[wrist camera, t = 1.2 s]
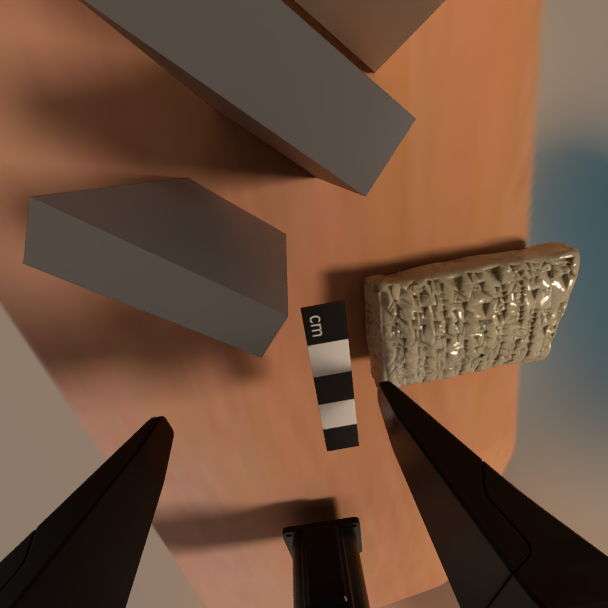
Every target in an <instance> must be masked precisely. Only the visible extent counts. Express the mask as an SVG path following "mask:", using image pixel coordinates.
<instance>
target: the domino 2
mask: <svg viewBox="0 0 608 608" xmlns="http://www.w3.org/2000/svg"><path fill="white" fill-rule="evenodd" d="M23 264H25V265H28V266H31V267H33V268H36V269H38V270H41V271H43V272H46V273H48V274H51V275H53V276H56V277H58V278H61V279H64V280H66V281H69V282H71V283H74V284H76V285H79V286H81V287H84V288H86V289H89V290H91V291H94V292H97V293H99V294H102V295H104V296H107V297H109V298H112V299H114V300H117V301H119V302H122V303H125V304H127V305H130V306H132V307H135V308H137V309H140V310H142V311H145V312H147V313H150V314H152V315H155V316H158V317H160V318H163V319H165V320H168V321H170V322H173V323H175V324H178V325H180V326H183V327H185V328H188V329H191V330H193V331H196V332H198V333H201V334H203V335H206V336H208V337H211V338H213V339H216V340H218V341H221V342H224V343H226V344H229V345H231V346H234V347H236V348H239V349H241V350H244V351H246V352H249V353H252V354H254V355H257V356H259V357H262V356H263V354H264V353H265V351H266V350H267V348H268V347H269V345H270V343H271V342H272V340H273V339H274V337H275V336H276V334H277V333H278V331H279V330H280V328H281V326H282V325H283V323H284V322H285V320H286V319H287V317H288V294H287V256H286V234H285V233H283V232H281V231H280V230H278V229H276V228H274V227H273V226H271V225H269V224H267V223H266V222H264V221H262V220H260V219H259V218H257V217H255V216H253V215H252V214H250V213H248V212H246V211H245V210H243V209H241V208H239V207H238V206H236V205H234V204H232V203H231V202H229V201H227V200H225V199H224V198H222V197H220V196H218V195H217V194H215V193H213V192H211V191H210V190H208V189H206V188H204V187H203V186H201V185H199V184H197V183H196V182H194V181H192V180H190V179H189V178H181V179H172V180H164V181H156V182H148V183H139V184H131V185H123V186H115V187H106V188H98V189H90V190H82V191H74V192H65V193H57V194H49V195H41V196H32V197H30V202H29V212H28V222H27V231H26V241H25V251H24V260H23Z"/></svg>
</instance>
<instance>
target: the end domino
mask: <svg viewBox="0 0 608 608" xmlns="http://www.w3.org/2000/svg"><path fill="white" fill-rule="evenodd" d="M294 1H295V2H296V3H298V4H299V5H300V6H301V7H302V8H303V9H304V10H305V11H306V12H308V13H309V14H310V15H311V16H312V17H313V18H314V19H315V20H317V21H318V22H319V23H320V24H321V25H322V26H323V27H324V28H326V29H327V30H328V31H329V32H330V33H331V34H332V35H333V36H334V37H336V38H337V39H338V40H339V41H340V42H341V43H342V44H343V45H345V46H346V47H347V48H348V49H349V50H350V51H351V52H352V53H353V54H355V55H356V56H357V57H358V58H359V59H360V60H361V61H362V62H364V63H365V64H366V65H367V66H368V67H369V68H370V69H371V70H372V71H374V72H376V71H377V70H378V69H379V68H380V67H381V66H382V65H383V64H384V63H385V62H386V61H387V60H388V59H389V58H390V57H391V56H392V55H393V54H394V53H395V52H396V50H397V49H398V48H399V47H400V46H401V45H402V44H403V43H404V42H405V41H406V40H407V39H408V38H409V37H410V36H411V35H412V34H413V33H414V32H415V31H416V30H417V29H418V28H419V27H420V26H421V25H422V24H423V23H424V22H425V21H426V20H427V19H428V18H429V17H430V16H431V15H432V14H433V12H434V11H435V10H436V9H437V8H438V7H439V6H440V5H441V4H442V3H443V2H444V1H445V0H294Z"/></svg>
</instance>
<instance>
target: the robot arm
mask: <svg viewBox="0 0 608 608" xmlns="http://www.w3.org/2000/svg"><path fill="white" fill-rule="evenodd" d="M378 403H379V407H380V410H381V413H382V416H383V420H384V423H385V426H386V429H387V433H388V436H389V439H390V442H391V445H392V448H393V451H394V453H395V456H396V458H397V460H398V463H399V465H400V467H401V470H402V472H403V474H404V477H405V479H406V481H407V484H408V486H409V488H410V491H411V493H412V495H413V498H414V500H415V503H416V505H417V507H418V510H419V512H420V514H421V517H422V519H423V521H424V524H425V526H426V528H427V531H428V533H429V535H430V538H431V540H432V542H433V545H434V547H435V549H436V552H437V554H438V556H439V559H440V561H441V563H442V566H443V568H444V570H445V573H446V575H447V577H448V580H449V582H450V584H451V587H452V589H453V591H454V594H455V596H456V598H457V601H458V603H459V605H460V608H608V556H606V555H605V554H604V553H602V552H601V551H600V550H598V549H597V548H596V547H594V546H593V545H591V544H590V543H589V542H587V541H586V540H585V539H583V538H582V537H581V536H579V535H578V534H577V533H575V532H574V531H573V530H571V529H570V528H569V527H567V526H566V525H564V524H563V523H562V522H560V521H559V520H557V519H556V518H555V517H554V516H552V515H551V514H550V513H548V512H547V511H546V510H544V509H543V508H541V507H540V506H539V505H537V504H536V503H535V502H534V501H532V500H531V499H530V498H528V497H527V496H526V495H524V494H523V493H522V492H521V491H519V490H518V489H517V488H515V487H514V486H513V485H512V484H511V483H509V482H508V481H507V480H506V479H505V478H503V477H502V476H501V475H500V474H499V473H497V472H496V471H495V470H494V469H493V468H491V467H490V466H489V465H488V464H487V463H486V462H484V461H483V462H482V459H481V458H480V457H478V456H477V455H476V454H475V453H474V452H473V451H471V450H470V449H469V448H468V447H467V446H466V445H464V444H463V443H462V442H461V441H460V440H459V439H457V438H456V437H455V436H454V435H453V434H452V433H450V432H449V431H448V430H447V429H446V428H445V427H443V426H442V425H441V424H440V423H439V422H438V421H436V420H435V419H434V418H433V417H432V416H430V415H429V414H428V413H427V412H426V411H425V410H423V409H422V408H421V407H420V406H419V405H418V404H416V403H415V402H414V401H413V400H412V399H411V398H409V397H408V396H407V395H406V394H405V393H404V392H402V391H401V390H400V389H399V388H398V387H397V386H395V385H394V384H393V383H392V382H390V381H382V382H379V383H378ZM173 437H174V432H173V429H172V427H171V426H170V424H169V423H168V421H167V419H166V418H165V417H164V416H159V417H153V418H151V419H150V420H148V421H147V422H146V423H145V424H144V425H143V426H142V427H141V428H140V429H139V430H138V431H137V432H136V433H135V434H134V435H133V436H132V437H131V438H130V439H129V440H128V441H126V442H125V443H124V444H123V445H122V446H121V447H120V448H119V449H118V450H117V451H116V452H115V453H114V454H113V455H112V456H111V457H110V458H109V459H108V460H107V461H106V462H105V463H104V464H103V465H101V466H100V467H99V468H98V469H97V471H95V472H94V473H93V474H92V475H91V476H90V477H89V478H88V479H87V480H86V481H85V482H84V483H83V484H82V485H81V486H80V487H79V488H77V489H76V490H75V491H74V492H73V493H72V494H71V495H70V496H69V497H68V498H67V499H66V500H65V501H64V502H63V503H62V504H61V505H60V506H59V507H58V508H57V509H56V510H55V511H54V512H52V514H50V516H48V518H46V519H45V520H44V521H43V522H42V523H41V524H40V525H39V526H38V527H37V529H36V530H34V531H33V532H32V533H30V534H29V536H28V537H26V538H25V539H24V540H23V541H22V542H21V543H20V544H19V545H18V546H17V547H16V548H15V549H14V550H13V551H12V552H11V553H9V554H8V555H7V556H6V557H5V558H4V559H3V560H2V561H1V562H0V608H126V604H127V601H128V598H129V595H130V591H131V588H132V585H133V581H134V578H135V575H136V572H137V568H138V565H139V562H140V559H141V555H142V552H143V549H144V546H145V543H146V539H147V536H148V533H149V529H150V526H151V523H152V520H153V517H154V513H155V510H156V507H157V504H158V500H159V497H160V494H161V491H162V487H163V484H164V480H165V475H166V471H167V466H168V461H169V456H170V451H171V447H172V442H173ZM283 538H284V541H285V543H286V545H287V547H288V550H289V552H290V554H291V556H292V559H293V596H294V608H370V606H369V601H368V595H367V590H366V585H365V580H364V575H363V570H362V564H361V559H360V554H359V553H360V552H362V543H361V531H360V522H359V518H357V517H350V518H343V519H337V520H330V521H324V522H317V523H310V524H304V525H297V526H291V527H285V528H284V529H283Z"/></svg>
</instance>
